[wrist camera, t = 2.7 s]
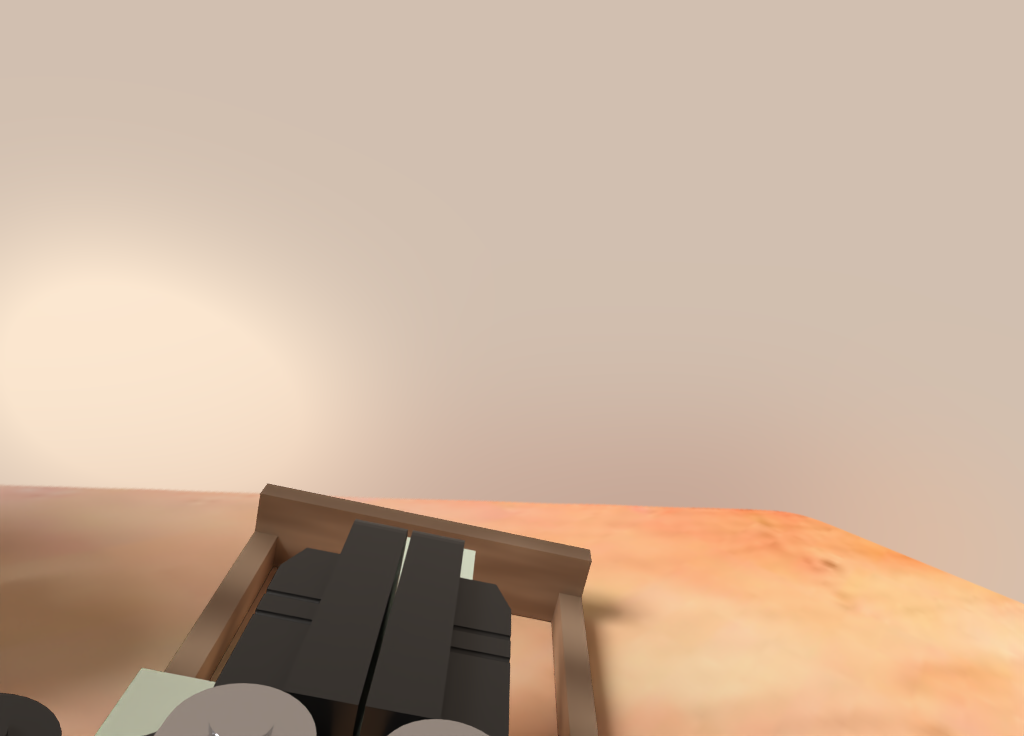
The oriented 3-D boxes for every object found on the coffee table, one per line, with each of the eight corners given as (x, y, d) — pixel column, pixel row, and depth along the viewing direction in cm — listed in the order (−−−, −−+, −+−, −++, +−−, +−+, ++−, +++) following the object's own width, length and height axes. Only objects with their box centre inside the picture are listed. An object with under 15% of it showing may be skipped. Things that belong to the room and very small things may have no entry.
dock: (597, 869, 30) (625, 782, 29) (116, 780, 29) (125, 686, 28) (572, 613, 46) (589, 549, 44) (257, 550, 45) (267, 483, 43)
